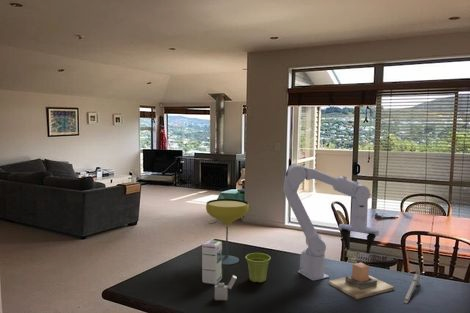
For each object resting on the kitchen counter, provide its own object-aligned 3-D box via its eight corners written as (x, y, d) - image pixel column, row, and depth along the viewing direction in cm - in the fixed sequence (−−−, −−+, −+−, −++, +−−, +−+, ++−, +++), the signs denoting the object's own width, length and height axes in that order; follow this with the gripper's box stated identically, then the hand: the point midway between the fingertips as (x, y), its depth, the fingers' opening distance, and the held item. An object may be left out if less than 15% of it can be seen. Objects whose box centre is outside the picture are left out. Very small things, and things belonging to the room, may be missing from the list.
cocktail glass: (228, 250, 170) (228, 197, 168) (256, 261, 157) (257, 203, 155) (196, 259, 158) (197, 202, 156) (224, 271, 145) (225, 209, 143)
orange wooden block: (351, 282, 134) (352, 264, 133) (359, 280, 135) (360, 262, 135) (360, 287, 130) (361, 267, 129) (368, 285, 132) (369, 266, 131)
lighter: (214, 299, 121) (214, 276, 120) (215, 297, 122) (215, 274, 122) (236, 300, 120) (236, 276, 120) (236, 298, 122) (236, 274, 122)
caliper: (416, 283, 137) (417, 267, 137) (419, 284, 136) (420, 267, 136) (403, 303, 121) (404, 285, 120) (407, 304, 120) (408, 285, 120)
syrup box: (216, 284, 132) (217, 245, 131) (201, 282, 134) (201, 243, 133) (222, 278, 138) (222, 241, 137) (207, 276, 140) (208, 239, 139)
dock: (328, 283, 135) (328, 275, 135) (364, 275, 143) (364, 268, 143) (356, 299, 123) (357, 290, 122) (394, 289, 131) (394, 281, 130)
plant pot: (256, 286, 131) (257, 263, 131) (239, 278, 138) (240, 256, 138) (275, 280, 137) (275, 257, 136) (258, 272, 144) (258, 251, 144)
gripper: (337, 215, 140) (335, 249, 141) (376, 220, 132) (375, 257, 133) (342, 211, 146) (341, 245, 147) (381, 217, 138) (379, 252, 139)
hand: (357, 250), depth 141 cm, fingers open, 7 cm apart
